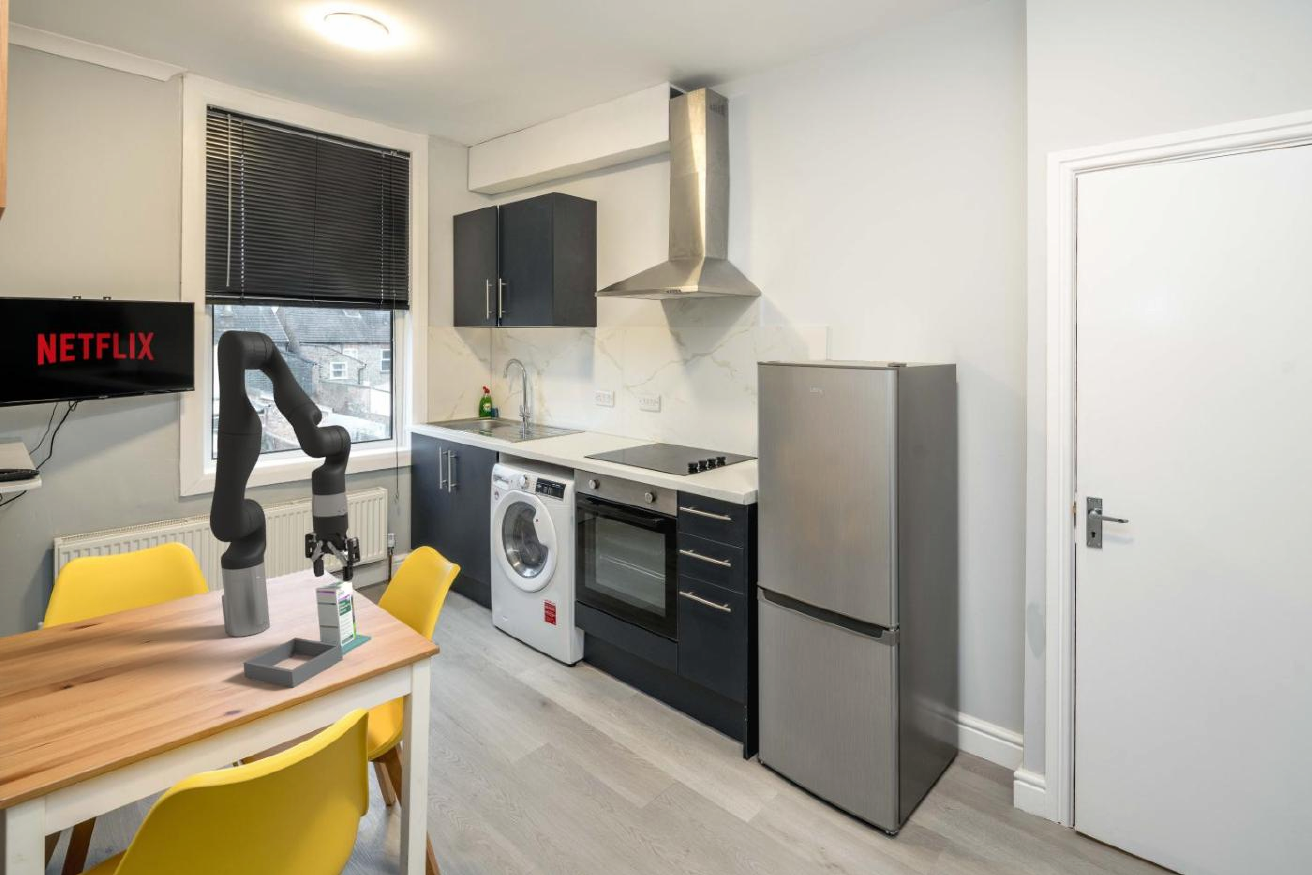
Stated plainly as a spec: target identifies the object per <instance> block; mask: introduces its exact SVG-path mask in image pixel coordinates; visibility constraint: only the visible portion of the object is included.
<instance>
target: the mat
mask: <svg viewBox="0 0 1312 875" xmlns="http://www.w3.org/2000/svg"><path fill="white" fill-rule="evenodd" d="M356 635H357V638H356V639H354V640H352V641H350V642H349V643H347V644H346V645H344V646H343V647H342V656H344V655H346V654H347V653H350V652H351V651H353V650H354V649H356V648H358V647H360V646H362V645H363V644H366V643H367V642H369V641H371V640H372V636H368V635H363V634H362V635H361V634H357V633H356ZM319 642H321V640H320V641H319Z"/></svg>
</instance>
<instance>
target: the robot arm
mask: <svg viewBox="0 0 1312 875" xmlns="http://www.w3.org/2000/svg"><path fill="white" fill-rule="evenodd" d="M216 355H217V359H216V360H217V371H218V372H217V373H218V375H217V376H218V388H219V390H218V391H219V394H218V396H219V399H218V402H219V403H218V404H219V406H218V421H217V422H218V424H217V437H216V441H217V442H216V465H215V480H214V489H213V495H212V501H211V506H210V512H209V513H210V514H209V527H210V530H211V532H212V535H213V536H214V537H215V538H216V539H217V540H218V541H220V542H222V543H229V545H228V547H227V549H226V550H225V551H224V552H223V553H222V555H221V557H220V566H221V574H222V576H221V577H222V585H223V594H222V596H221V603H222V614H223V623H224V624H223V625H224V632H226V633H227V634H228V636H230V637H247V636H252V635H253V636H254V635H256V634H259V633H262V632H264V631H266V630H267V629H269V628H270V626H271V625H270V624H271V623H270V613H269V600H268V589H267V576H266V566H265V552H266V549H267V544H268V543H267V542H268V541H267V521H266V520H267V519H266V514H265V511H264V508H263V507H262V505H261V504H260V503H259V502H258V501H256V500H255V499H251V498H245V497H246V496H245V493H246V487H247V484H248V481H249V479H250V478H251V477H250V476H251V474H252V472H253V470H254V468H255V466H256V464H257V462H258V460H259V457H260V454H261V452H262V451H261V450H262V442H263V441H262V440H263V439H262V438H263V423H262V420H261V418H260V415H259V414H258V412H257V410H256V409H255V406H254V405H253V404H252V402H251V399H250V398H249V396H248V393H247V390H246V371H247V370H249V371H250V370H252V371H253V370H254V371H260V372H262V373H263V374H264V375H265V376H266V377H267V378H268V379H269V380H270V381H271V383H272V396H273V401H274V402H273V403H274V404H275V406H276V408H277V410H278V411H279V412H280V414H282V416H283V417H284V418H285V420H286V422H288V423H289V424H290V425H291V427H292V429H293V431H294V434H295V436H296V438H297V442H298V444H299V446H300V449H301V450H302V451H303V453H304V454H305V455H306V456H308V457H310V458H313V459H323V458H324V462H323V464H322V465H319V466H318V467H317V468H314V469H313V470H312V472H311V493H312V498H311V515H312V516H311V517H312V518H311V519H312V532H309V533H305V534H304V556H305V558H306V559H310V560H311V562H312V567H313V568H312V569H313V574H314V577H315V578H320V577H323V576H324V575H325V564H324V563H325V562H324V557H325V556H326V555H331V556H335V558H336V559H337V560H339V561H340V563H341V564H342V567H341V568H342V580H343V581H345V582H347V581H350V582H351V581H352V580H353V578H354V565H355V564H357V563H360V562H361V553H360V552H361V550H360V540H359V538H358V537H357V536H354V537H348V535H347V531H348V530H349V525H350V524H349V509H348V508H349V506H348V498H347V492H346V471H347V468H348V467H347V466H348V463H349V459H350V454H351V449H352V440H351V436H350V433H349V432H348V430H347V429H346V428H345V427H344V426H342V425H337V424H335V425H333V424H332V425H327V426H325V425H324V426H319V424H320V423H321V421H322V419H323V412H322V411H321V409H320V408H319V406H318V405H316V402H314V400H312V398H311V397H310V396H309V395H308V394H307V393H306V391H304V389H303V388H302V386H301V385H300V383H299V382H298V380H297V379H296V377H295V376H294V375H293V374H294V373H292V371H291V370H292V369H290V367H289V365H288V363H287V362H286V360H285V358H284V357H283V355H282V353H281V352H280V350H279V348H278V346H277V345H276V343H275V342H274V341H273V339H272V338H271V337H270V336H269V335H268V334H266V333H264V332H261V331H249V330H236V329H235V330H233V329H231V330H226V331H224V332H223V333H222V334H221V335H220V337H219V340H218V343H217V354H216Z"/></svg>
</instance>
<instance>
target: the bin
mask: <svg viewBox="0 0 1312 875" xmlns="http://www.w3.org/2000/svg"><path fill="white" fill-rule="evenodd" d="M296 655H302V656H307V657H312V659H310V660H308V661H306V662H304V663H302V664H300V665H299V666H296V667H295V668H293V669H291V668H284V667H279V666H276V665H277V664H279V663H281V662H283V661H285V660H287V659H289V658H291V657H293V656H296ZM341 661H343V655H342V645H337V644H331V643H325V642H320V641H318V640H312V639H306V638H300V637H294V638H292V639H290V640H287V641H285V642H284V643H281V644H280V645H277V646H276V647H273V648H271V649H269V650H267V651H265V652H263V653H261V654H259V655H257V656H254V657H253V658H251V659H249V660H247V661H245V662H243V674H244V679H246V680H251V681H257V682H263V683H267V684H273V685H277V686H283V687H287V688H288V687H289V688H295V687H297V686H299V685H300V684H303V683H304V682H306V681H309V679H311V678H314V677H315V676H317V675H318V674H320V673H322V672H324V671H326V670H328V669H329V668H331V667H333V666H335V665H336V664H338V663H339V662H341Z"/></svg>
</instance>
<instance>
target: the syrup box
mask: <svg viewBox="0 0 1312 875" xmlns="http://www.w3.org/2000/svg"><path fill="white" fill-rule="evenodd" d="M353 590H354V589H353V582H352V581H351V580H350V581H347V582H345V581H343V579H342V580H340V579H338V580H337V579H336V580H335V579H334V580H331V581H329V582H326V583H324V584H322V585H320V586H318V587H316V588H315V595H316V605H317V608H316V609H317V617H318V627H319V638H320V639H319V640H320V641H321V642H325V643H331V644H337V645H342V647H343V646H344V645H346V644H347V643H349V642H350V641H352V640H354V639H356V638H357V635H358V634H357V626H356V613H355V602H354V592H353ZM356 634H357V635H356Z"/></svg>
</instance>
